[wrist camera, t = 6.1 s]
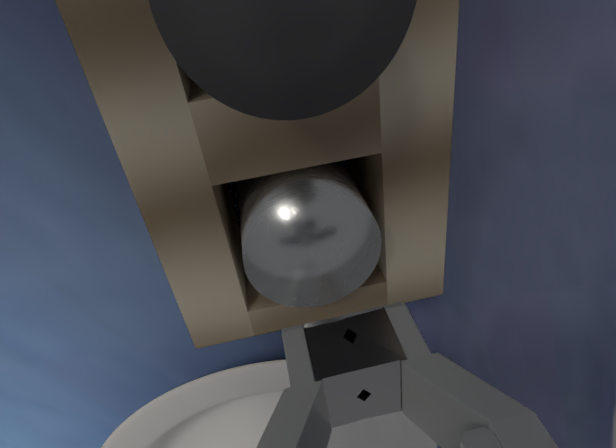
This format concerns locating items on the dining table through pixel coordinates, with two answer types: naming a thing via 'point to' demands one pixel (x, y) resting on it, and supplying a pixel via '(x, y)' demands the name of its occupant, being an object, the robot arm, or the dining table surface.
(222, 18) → the black knob middle
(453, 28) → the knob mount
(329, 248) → the steel knob
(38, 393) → the dining table surface
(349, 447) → the candlestick
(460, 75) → the dining table surface
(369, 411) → the robot arm
